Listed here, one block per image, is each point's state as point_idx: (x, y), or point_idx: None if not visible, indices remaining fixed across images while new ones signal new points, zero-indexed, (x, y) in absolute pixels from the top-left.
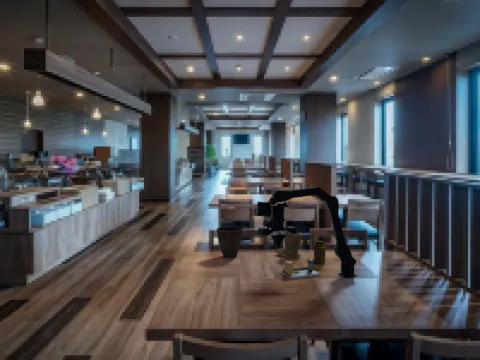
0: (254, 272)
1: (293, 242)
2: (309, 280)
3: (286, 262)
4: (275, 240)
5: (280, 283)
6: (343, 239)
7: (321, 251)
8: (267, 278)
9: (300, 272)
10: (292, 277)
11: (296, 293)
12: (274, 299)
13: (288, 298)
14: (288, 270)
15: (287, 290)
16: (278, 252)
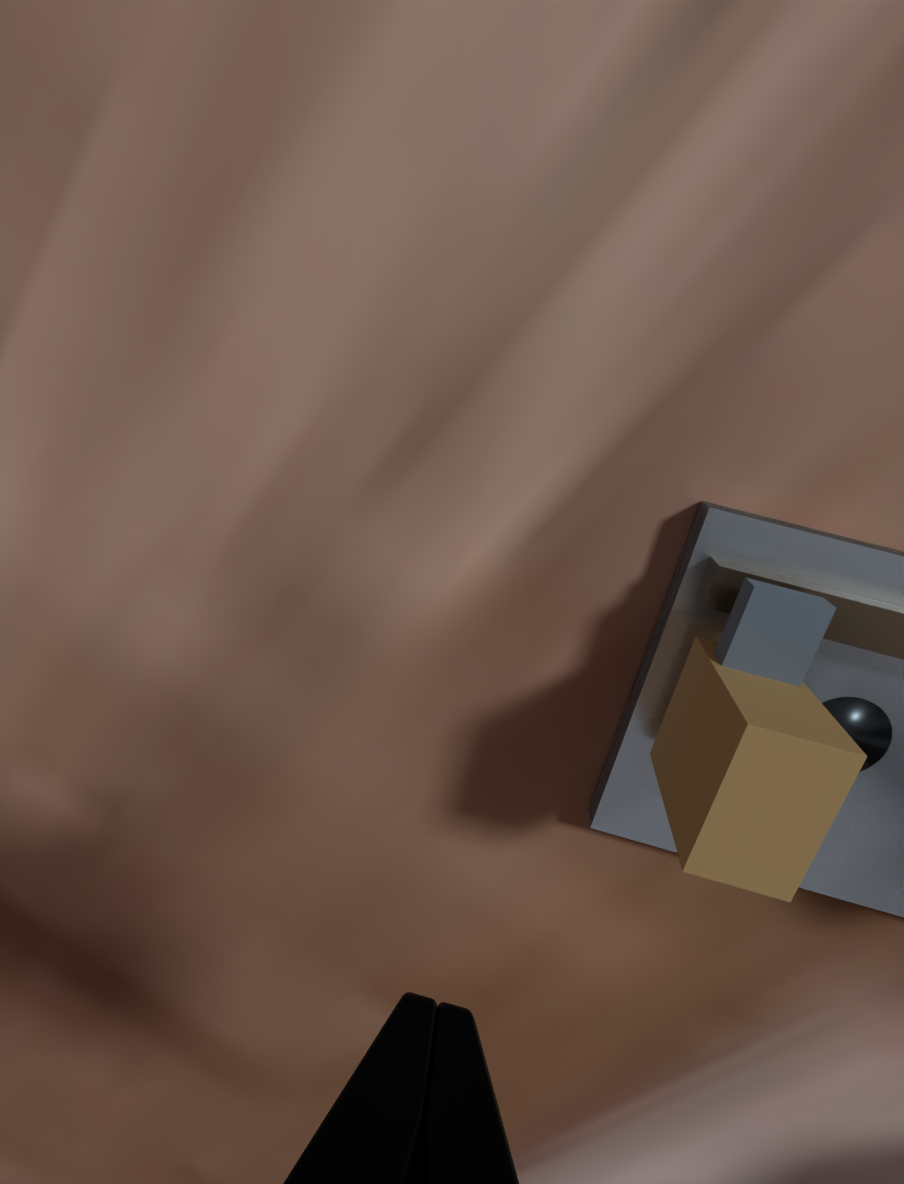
0: (371, 181)
1: None
2: (726, 972)
3: (721, 779)
4: None
5: (348, 835)
6: None
7: None
8: (343, 593)
9: (899, 772)
10: (608, 826)
11: (280, 1095)
12: (31, 1060)
13: (144, 1113)
14: (664, 766)
15: (262, 1007)
16: None
